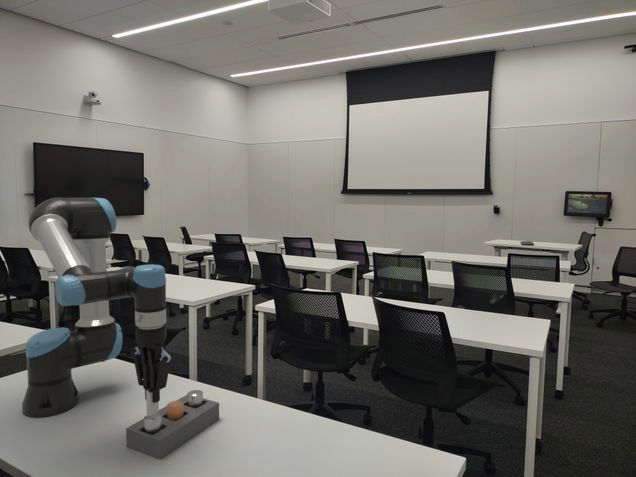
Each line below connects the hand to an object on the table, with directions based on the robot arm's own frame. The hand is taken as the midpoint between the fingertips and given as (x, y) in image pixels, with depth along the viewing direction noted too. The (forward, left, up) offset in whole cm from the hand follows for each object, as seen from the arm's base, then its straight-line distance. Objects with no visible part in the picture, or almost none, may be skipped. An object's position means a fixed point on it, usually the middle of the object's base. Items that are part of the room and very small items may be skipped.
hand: (152, 412), depth 117 cm
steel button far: (0, +16, -6) cm, 17 cm away
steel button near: (0, 0, -6) cm, 6 cm away
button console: (0, +8, -9) cm, 12 cm away
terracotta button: (0, +8, -6) cm, 10 cm away
